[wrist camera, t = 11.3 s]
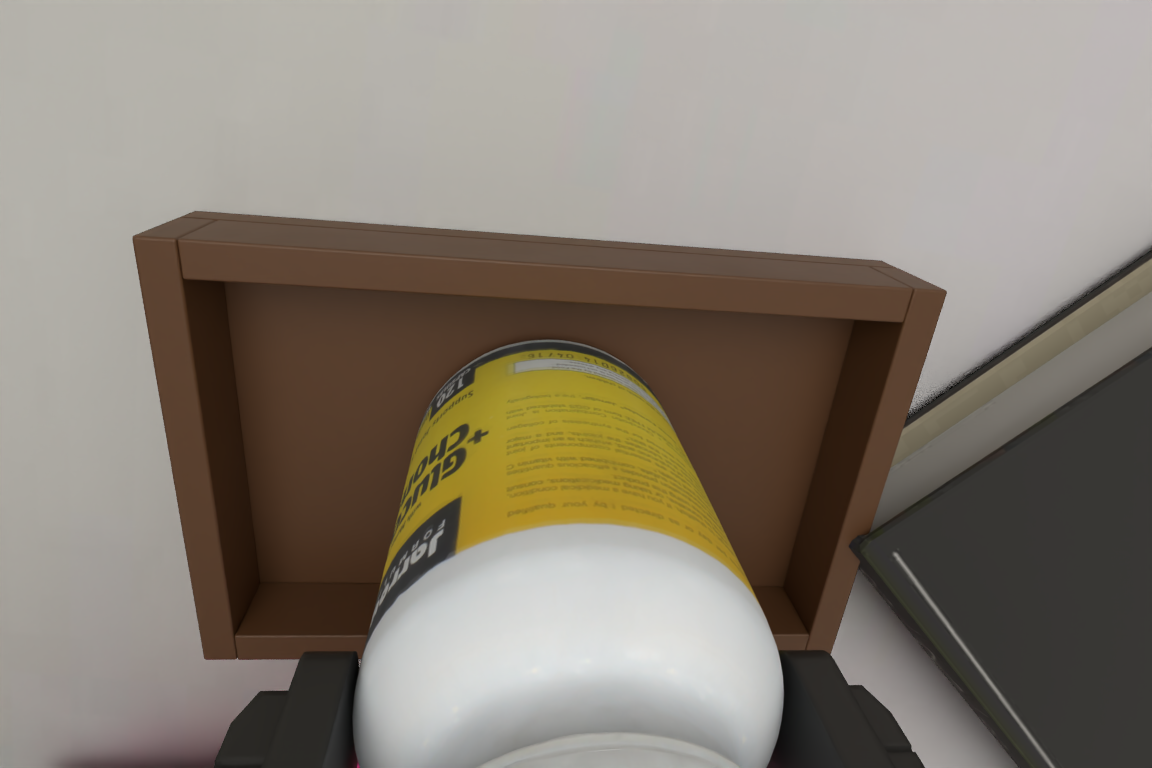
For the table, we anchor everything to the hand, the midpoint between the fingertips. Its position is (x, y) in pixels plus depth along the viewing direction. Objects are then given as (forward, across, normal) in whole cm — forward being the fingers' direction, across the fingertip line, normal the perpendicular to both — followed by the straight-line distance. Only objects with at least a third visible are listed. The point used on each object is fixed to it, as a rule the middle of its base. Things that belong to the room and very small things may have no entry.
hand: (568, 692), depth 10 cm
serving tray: (+9, 0, 0) cm, 9 cm away
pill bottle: (+8, 0, 0) cm, 8 cm away
